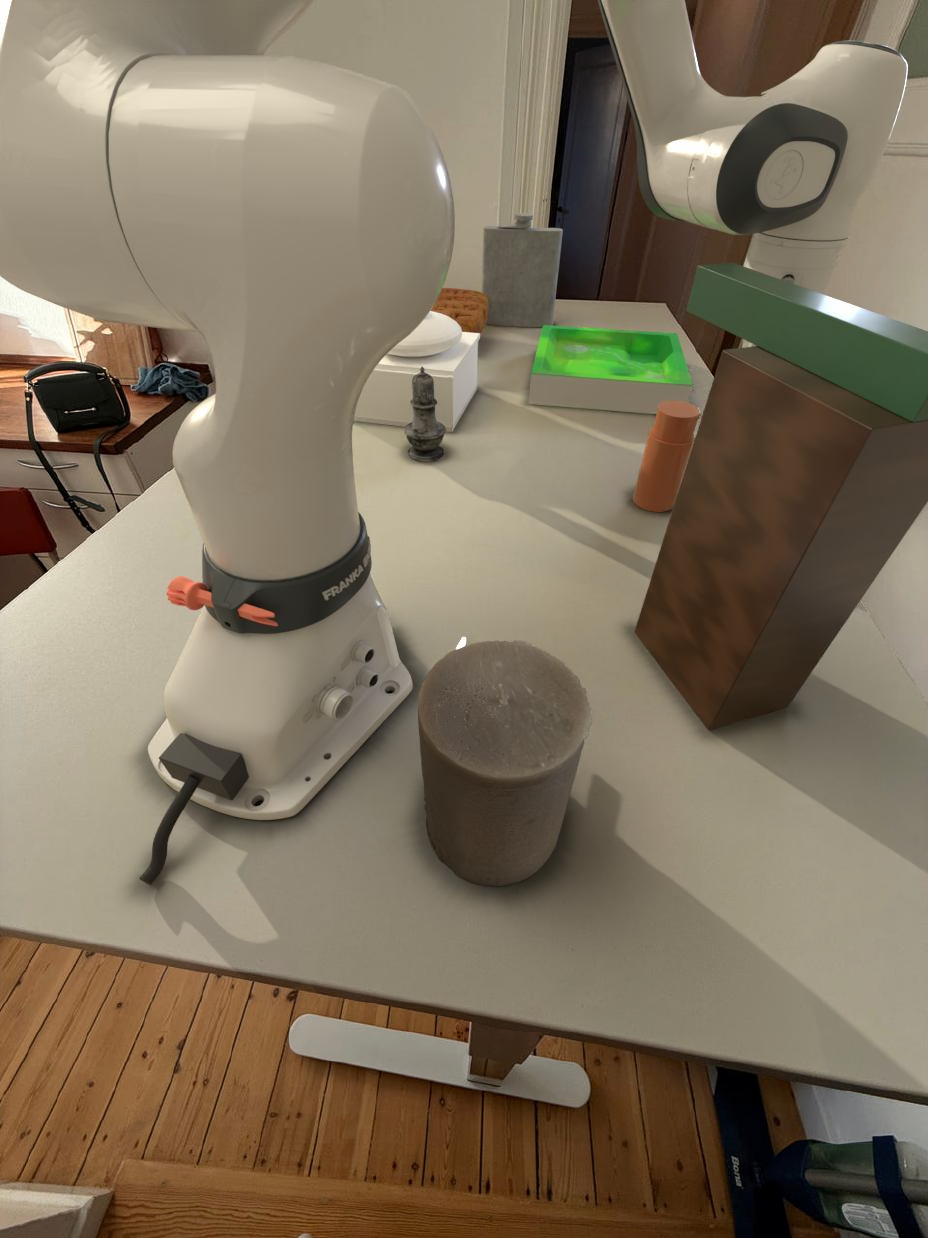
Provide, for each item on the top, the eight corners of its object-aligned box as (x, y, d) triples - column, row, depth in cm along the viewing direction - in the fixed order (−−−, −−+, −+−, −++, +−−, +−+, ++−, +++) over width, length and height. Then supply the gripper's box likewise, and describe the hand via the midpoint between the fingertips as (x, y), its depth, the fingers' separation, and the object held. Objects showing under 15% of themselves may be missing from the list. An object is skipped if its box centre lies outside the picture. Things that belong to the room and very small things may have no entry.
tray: (528, 403, 92) (531, 372, 89) (540, 352, 110) (543, 324, 106) (683, 416, 89) (692, 384, 86) (670, 361, 107) (677, 333, 103)
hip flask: (552, 322, 124) (564, 212, 110) (552, 328, 121) (564, 216, 107) (481, 319, 125) (484, 210, 111) (479, 325, 122) (482, 213, 108)
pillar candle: (411, 872, 37) (392, 748, 27) (441, 749, 44) (436, 612, 34) (556, 900, 36) (595, 782, 26) (564, 769, 43) (598, 634, 33)
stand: (633, 632, 54) (722, 349, 36) (704, 615, 56) (822, 337, 38) (708, 731, 46) (872, 428, 28) (788, 707, 47) (991, 409, 29)
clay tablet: (417, 322, 123) (415, 281, 118) (493, 327, 121) (494, 285, 115) (389, 356, 108) (385, 311, 102) (476, 363, 105) (477, 317, 100)
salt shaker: (441, 464, 77) (439, 376, 69) (400, 460, 78) (393, 372, 70) (450, 445, 81) (449, 360, 73) (411, 441, 82) (406, 356, 74)
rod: (685, 311, 42) (697, 264, 40) (719, 307, 42) (732, 262, 40) (912, 422, 28) (948, 361, 26) (956, 415, 29) (996, 354, 27)
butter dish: (345, 419, 87) (328, 307, 76) (383, 377, 100) (374, 276, 89) (452, 432, 84) (452, 317, 73) (478, 387, 97) (481, 284, 86)
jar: (676, 513, 69) (706, 420, 60) (633, 510, 69) (657, 416, 61) (671, 492, 72) (699, 401, 64) (631, 488, 73) (653, 397, 65)
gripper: (828, 293, 50) (768, 437, 60) (817, 249, 64) (770, 372, 74) (754, 286, 52) (707, 427, 62) (759, 244, 66) (720, 365, 75)
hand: (742, 396), depth 68 cm, fingers closed on jar lid, 6 cm apart
